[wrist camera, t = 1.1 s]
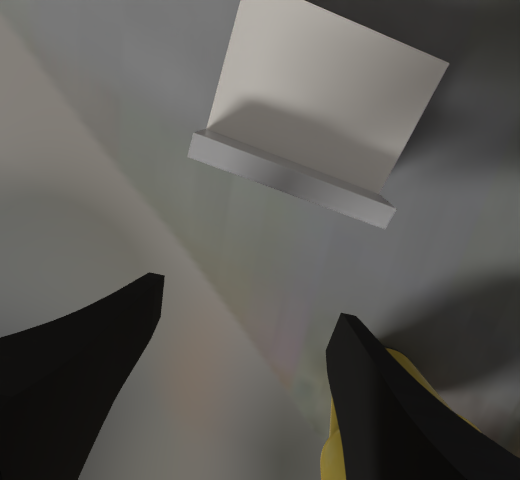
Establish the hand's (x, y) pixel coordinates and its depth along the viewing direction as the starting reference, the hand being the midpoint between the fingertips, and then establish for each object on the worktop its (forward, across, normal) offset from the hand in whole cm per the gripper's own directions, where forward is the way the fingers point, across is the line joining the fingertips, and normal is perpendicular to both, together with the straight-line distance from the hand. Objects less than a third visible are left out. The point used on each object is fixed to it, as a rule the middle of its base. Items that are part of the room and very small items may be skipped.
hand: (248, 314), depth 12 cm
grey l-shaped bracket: (+9, -1, -8) cm, 12 cm away
